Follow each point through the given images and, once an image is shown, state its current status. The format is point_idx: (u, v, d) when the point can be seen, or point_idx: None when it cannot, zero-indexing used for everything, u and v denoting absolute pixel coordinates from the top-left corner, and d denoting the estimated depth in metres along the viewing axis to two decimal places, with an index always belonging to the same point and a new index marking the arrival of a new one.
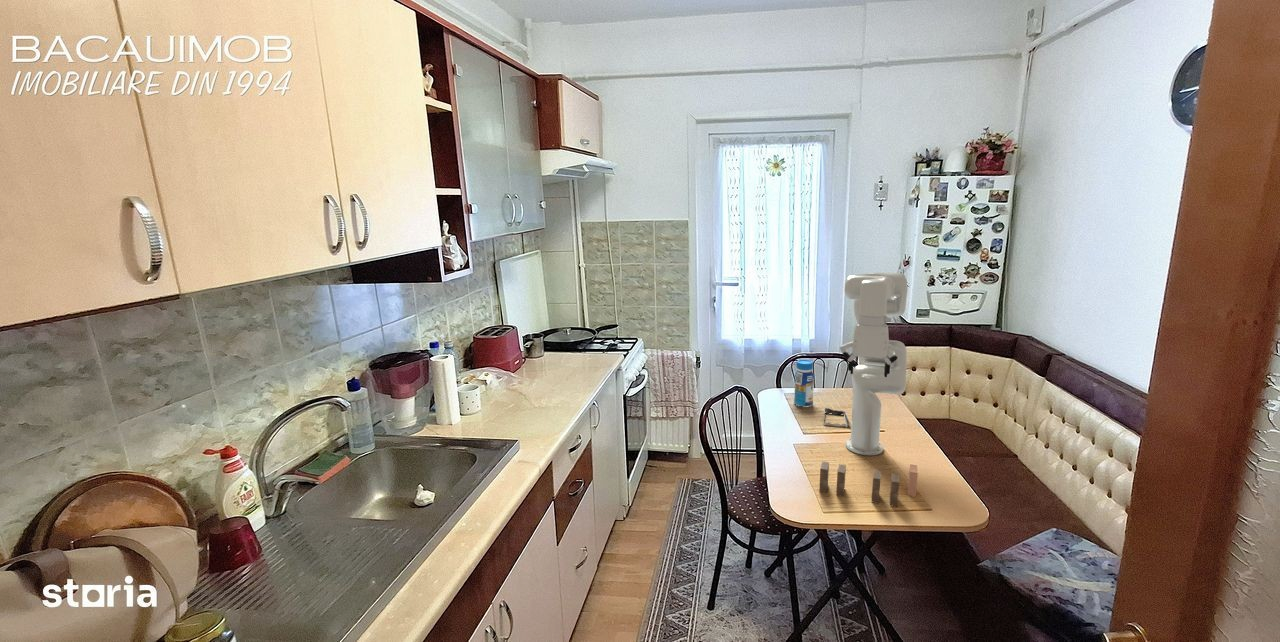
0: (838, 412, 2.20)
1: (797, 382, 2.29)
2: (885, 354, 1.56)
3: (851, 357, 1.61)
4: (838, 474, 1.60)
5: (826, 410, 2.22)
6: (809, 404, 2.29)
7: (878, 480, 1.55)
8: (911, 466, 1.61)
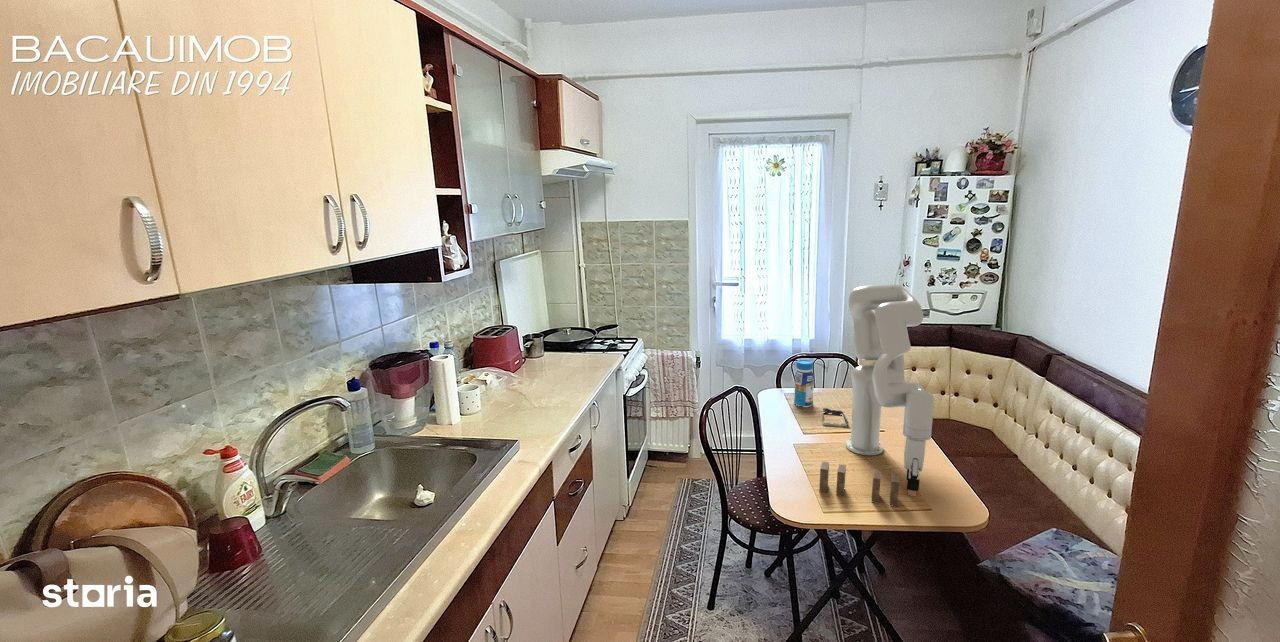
0: (836, 412, 2.20)
1: (797, 382, 2.29)
2: None
3: (918, 475, 1.57)
4: (838, 474, 1.60)
5: (824, 410, 2.22)
6: (809, 404, 2.29)
7: (878, 480, 1.55)
8: (911, 466, 1.61)
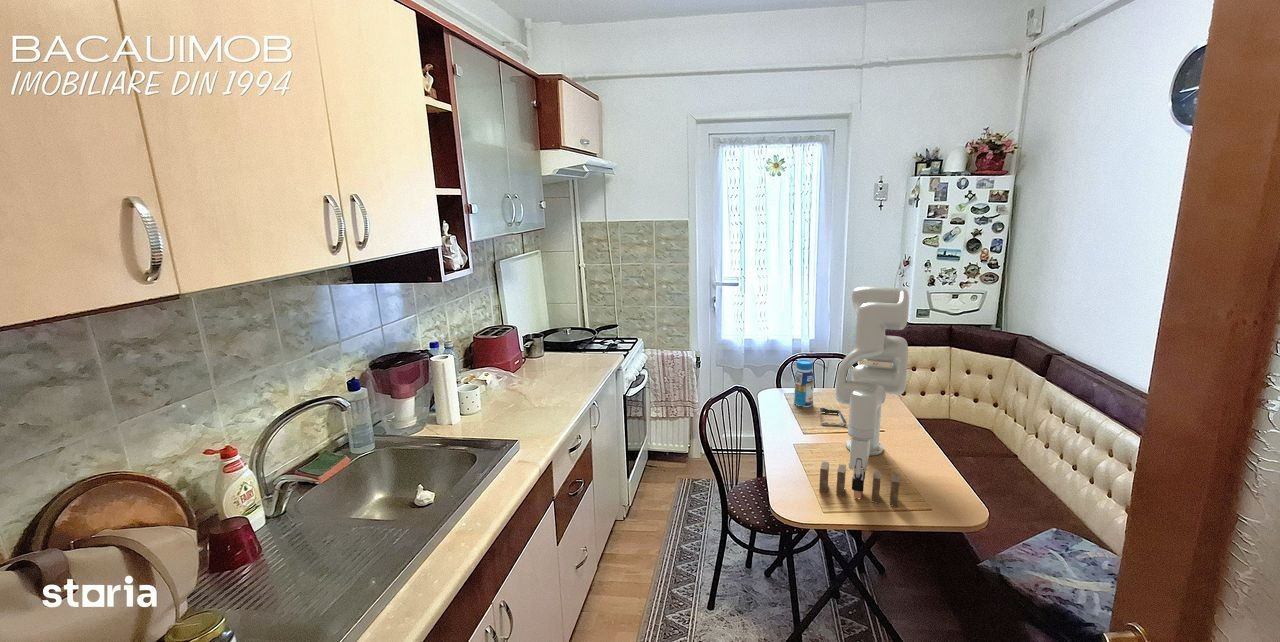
0: (833, 411, 2.21)
1: (797, 382, 2.29)
2: None
3: (863, 475, 1.55)
4: (838, 474, 1.60)
5: (821, 410, 2.22)
6: (809, 404, 2.29)
7: (878, 480, 1.55)
8: None
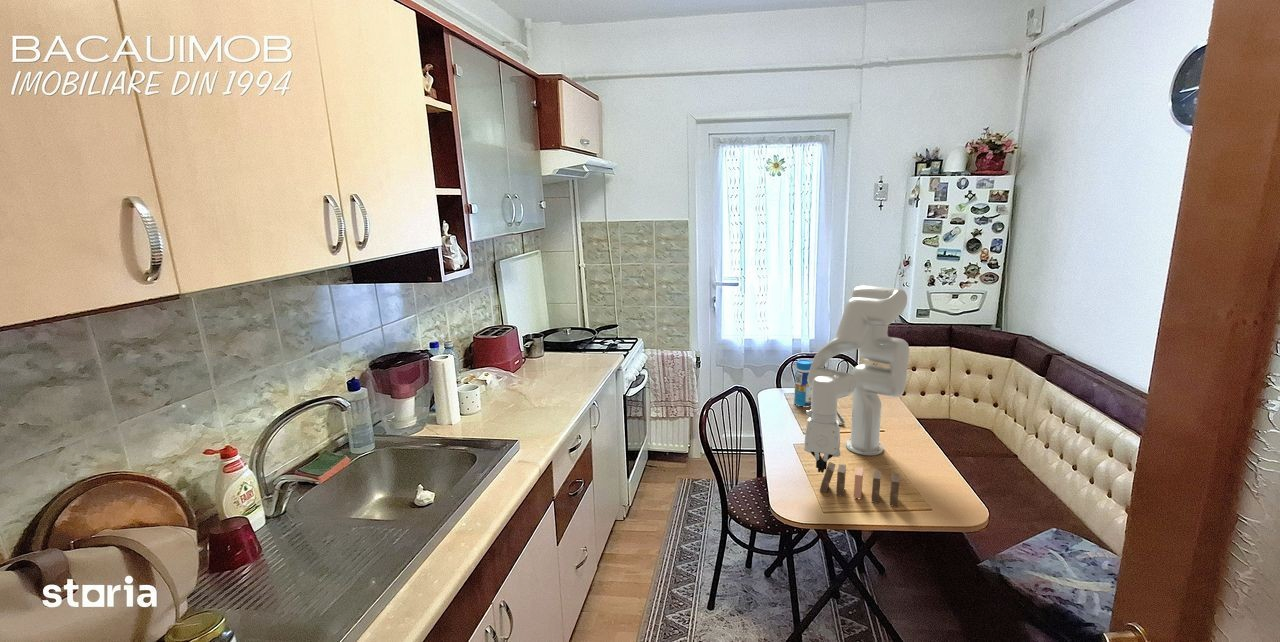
0: None
1: (797, 382, 2.29)
2: None
3: None
4: (838, 474, 1.60)
5: None
6: (809, 404, 2.29)
7: (878, 480, 1.55)
8: (857, 469, 1.61)
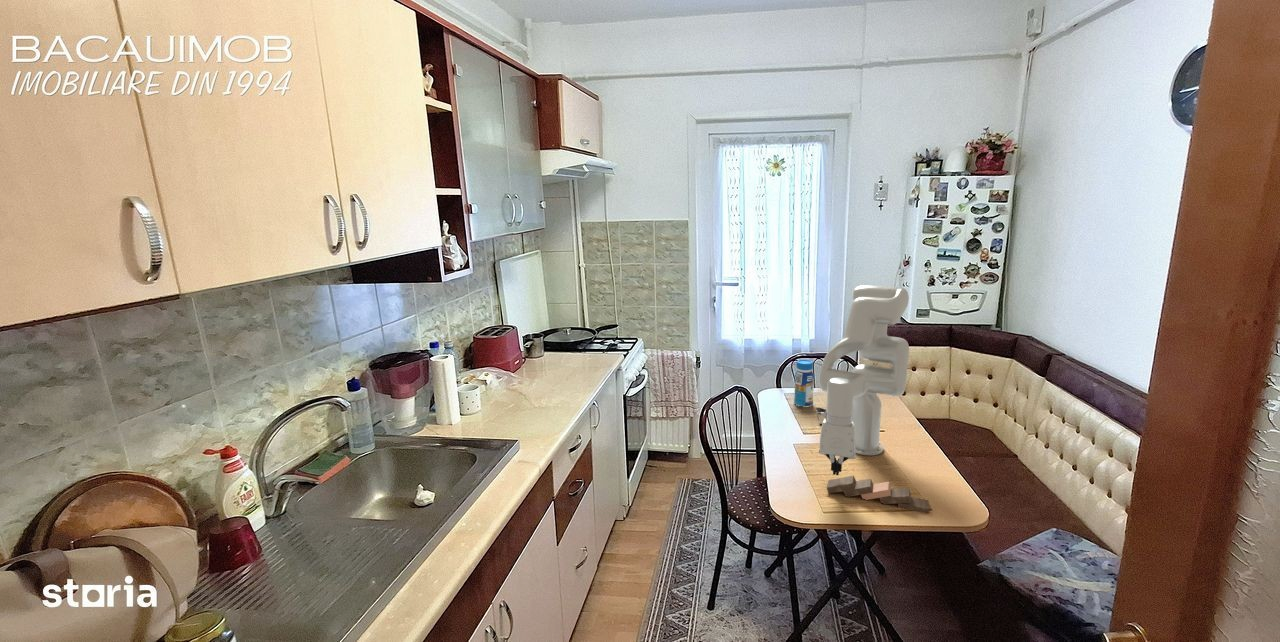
0: None
1: (797, 382, 2.29)
2: None
3: None
4: (867, 488, 1.57)
5: (817, 409, 2.23)
6: (809, 404, 2.29)
7: (908, 501, 1.52)
8: (889, 484, 1.58)
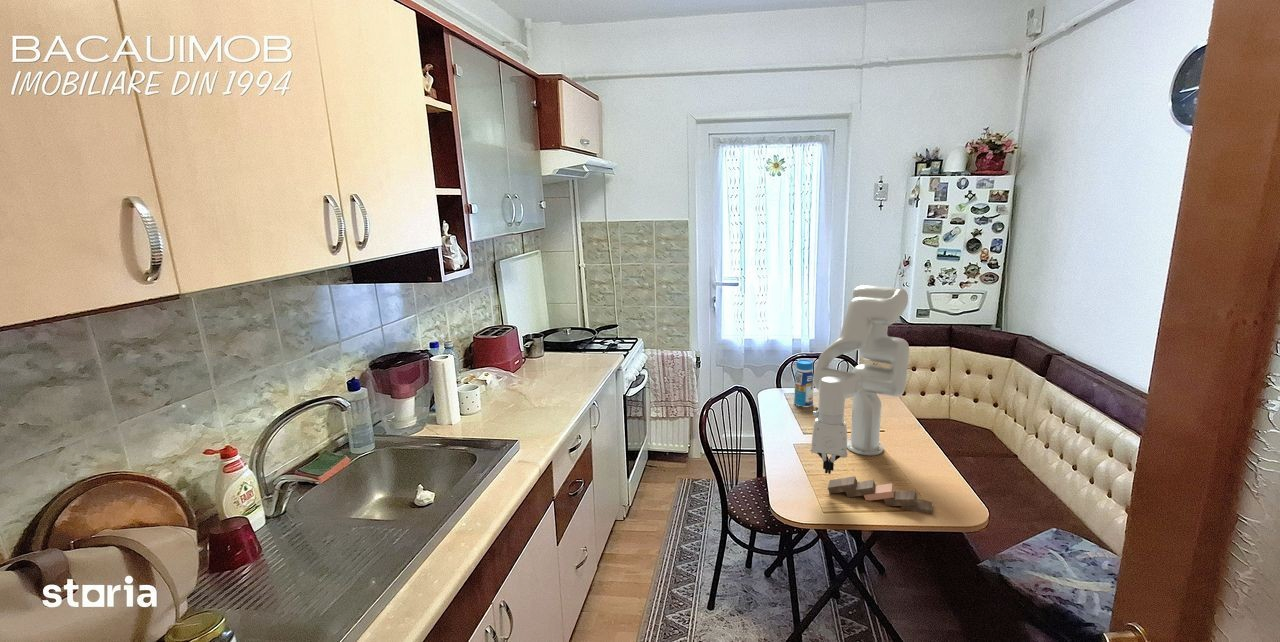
0: None
1: (797, 382, 2.29)
2: None
3: None
4: (869, 488, 1.56)
5: (817, 409, 2.23)
6: (809, 404, 2.29)
7: (912, 504, 1.50)
8: (892, 486, 1.57)
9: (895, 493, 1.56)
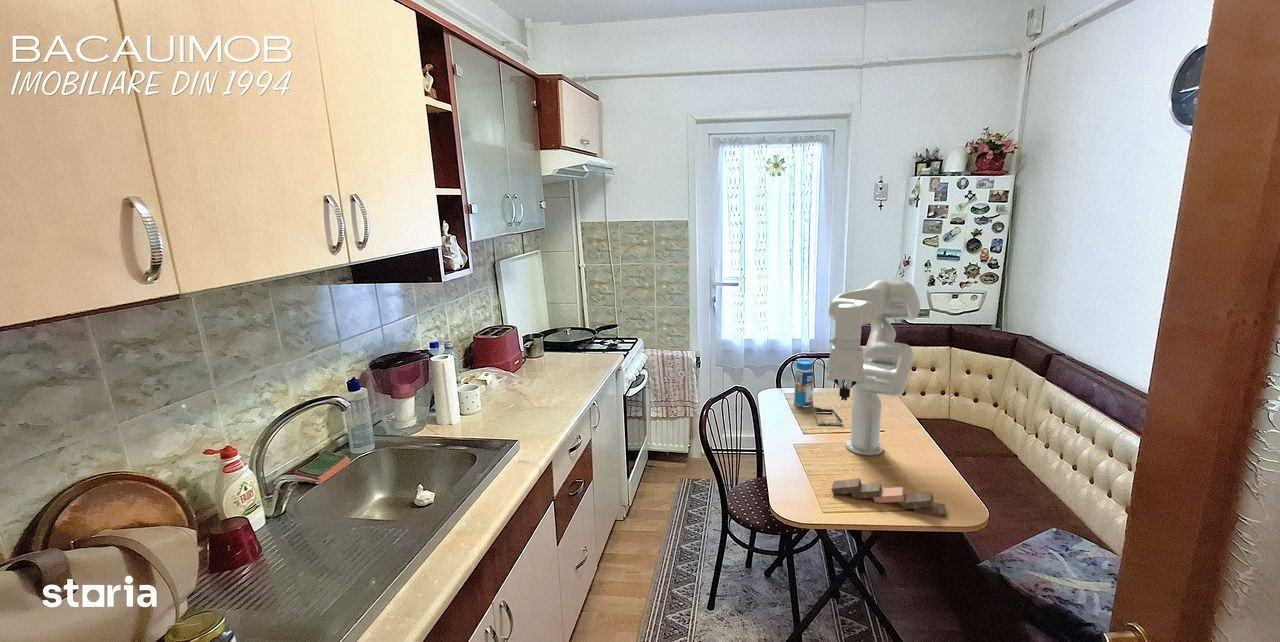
0: (827, 410, 2.22)
1: (797, 382, 2.29)
2: None
3: None
4: (876, 491, 1.56)
5: (815, 409, 2.23)
6: (809, 404, 2.29)
7: (930, 505, 1.48)
8: (903, 490, 1.56)
9: (911, 495, 1.54)
